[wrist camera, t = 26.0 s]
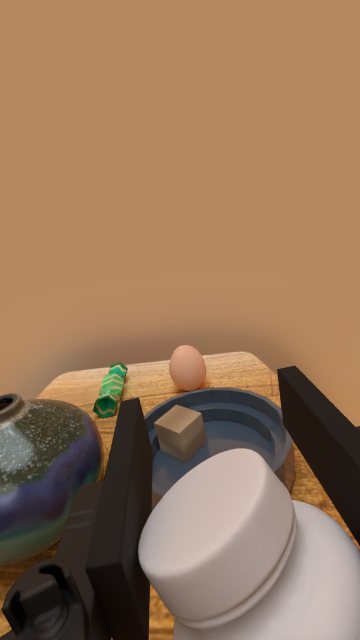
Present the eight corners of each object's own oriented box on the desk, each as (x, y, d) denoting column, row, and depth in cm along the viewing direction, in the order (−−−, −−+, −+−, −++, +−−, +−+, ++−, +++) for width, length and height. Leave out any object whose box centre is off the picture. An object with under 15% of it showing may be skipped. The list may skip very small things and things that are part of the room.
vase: (32, 458, 41) (-4, 368, 37) (138, 461, 37) (109, 361, 33) (-86, 587, 27) (-164, 466, 23) (62, 618, 23) (-4, 475, 19)
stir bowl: (313, 434, 36) (310, 400, 34) (259, 581, 23) (252, 536, 21) (189, 406, 46) (184, 379, 44) (103, 497, 33) (91, 463, 31)
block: (207, 441, 37) (201, 412, 36) (185, 463, 34) (179, 433, 33) (182, 431, 40) (176, 404, 39) (160, 450, 37) (153, 422, 36)
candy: (122, 408, 47) (102, 391, 46) (107, 422, 48) (86, 406, 47) (132, 372, 58) (116, 358, 57) (120, 384, 59) (103, 370, 58)
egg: (190, 402, 47) (180, 357, 44) (167, 391, 51) (157, 349, 49) (216, 385, 50) (209, 342, 48) (193, 376, 54) (185, 336, 52)
